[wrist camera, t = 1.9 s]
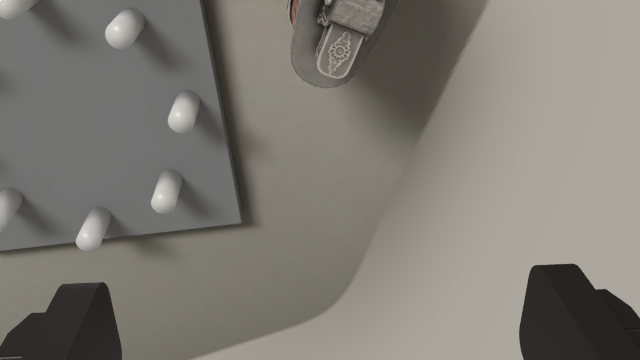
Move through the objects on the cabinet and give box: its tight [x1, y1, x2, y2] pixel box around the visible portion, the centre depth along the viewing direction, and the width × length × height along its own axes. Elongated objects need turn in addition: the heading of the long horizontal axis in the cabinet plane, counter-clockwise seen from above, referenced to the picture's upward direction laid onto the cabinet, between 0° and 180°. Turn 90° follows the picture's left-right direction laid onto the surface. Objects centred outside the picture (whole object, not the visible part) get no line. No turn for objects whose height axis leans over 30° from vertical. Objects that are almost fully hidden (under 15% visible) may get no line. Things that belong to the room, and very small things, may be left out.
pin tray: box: [0, 0, 243, 252], centre depth 30 cm, size 15×15×4 cm
